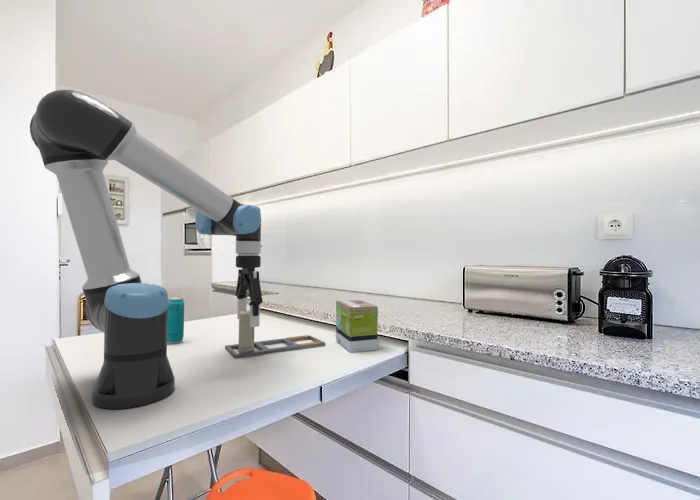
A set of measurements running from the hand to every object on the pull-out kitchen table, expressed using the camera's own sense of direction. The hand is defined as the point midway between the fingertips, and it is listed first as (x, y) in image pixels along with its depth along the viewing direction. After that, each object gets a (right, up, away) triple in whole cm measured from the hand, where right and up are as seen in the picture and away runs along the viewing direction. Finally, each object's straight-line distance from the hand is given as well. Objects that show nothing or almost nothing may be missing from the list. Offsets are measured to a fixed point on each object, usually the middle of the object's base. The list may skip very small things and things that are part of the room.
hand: (247, 322), depth 110 cm
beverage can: (-27, -9, +8) cm, 30 cm away
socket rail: (+8, -9, +5) cm, 13 cm away
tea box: (+34, -10, +9) cm, 37 cm away
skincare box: (0, -9, 0) cm, 9 cm away
